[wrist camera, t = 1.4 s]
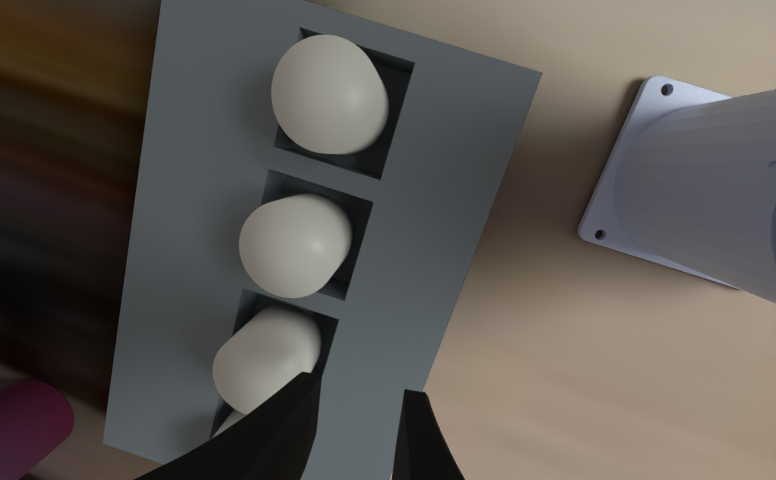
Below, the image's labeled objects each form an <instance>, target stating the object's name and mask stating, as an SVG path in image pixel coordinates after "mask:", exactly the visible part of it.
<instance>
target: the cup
mask: <svg viewBox="0 0 776 480" xmlns="http://www.w3.org/2000/svg"><path fill="white" fill-rule="evenodd" d="M73 425H74V417H73V412H72V409H71V407H70V405H69V403H68V401H67V400H66V399H65V397H64V396H63V395H62V394H61V393H60V392H59V391H58V390H57V389H55V388H54V387H52V386H51V385H49V384H47V383H45V382H42V381H38V380H33V379H26V380H21V381H18V382H15V383H13V384H11V385H9V386H7V387H5V388H3V389H1V390H0V480H19V479H20V478H21V477H22V476H23V475H25V474H26V473H27V472H28V471H29V470H30V469H32V468H33V467H34V466H35V465H36V464H37V463H38V462H40V461H41V460H42V459H43V458H44V457H45V456H47V455H48V454H49V453H50V452H51V451H52V450H53V449H55V448H56V447H57V446H58V445H59V444H60V443H62V442H63V441H64V440H65V439H66V438H67V437H68V436H69V435H70V433H71V431H72V429H73Z"/></svg>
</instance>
